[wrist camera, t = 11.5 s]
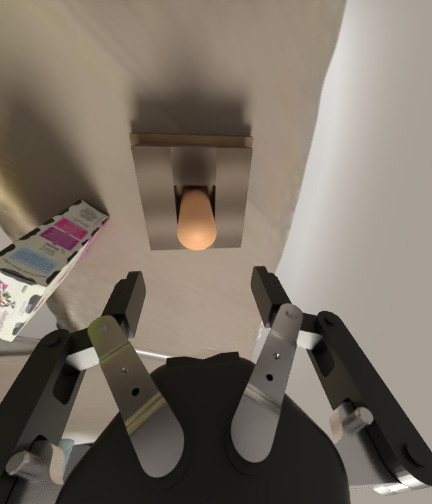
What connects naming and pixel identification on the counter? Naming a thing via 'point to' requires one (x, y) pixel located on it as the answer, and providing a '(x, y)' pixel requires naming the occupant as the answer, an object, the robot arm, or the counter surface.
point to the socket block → (192, 182)
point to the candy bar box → (43, 263)
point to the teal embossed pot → (66, 450)
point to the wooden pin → (196, 219)
